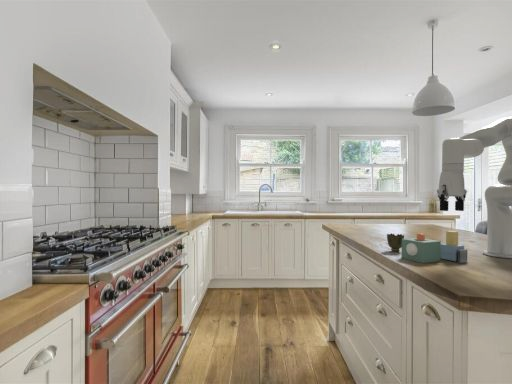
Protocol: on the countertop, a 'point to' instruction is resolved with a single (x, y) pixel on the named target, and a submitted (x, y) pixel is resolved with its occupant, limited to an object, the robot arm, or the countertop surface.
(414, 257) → the green box
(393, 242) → the cup
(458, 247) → the carriage
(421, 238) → the orange peg
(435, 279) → the countertop surface
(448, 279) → the countertop surface
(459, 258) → the rail
